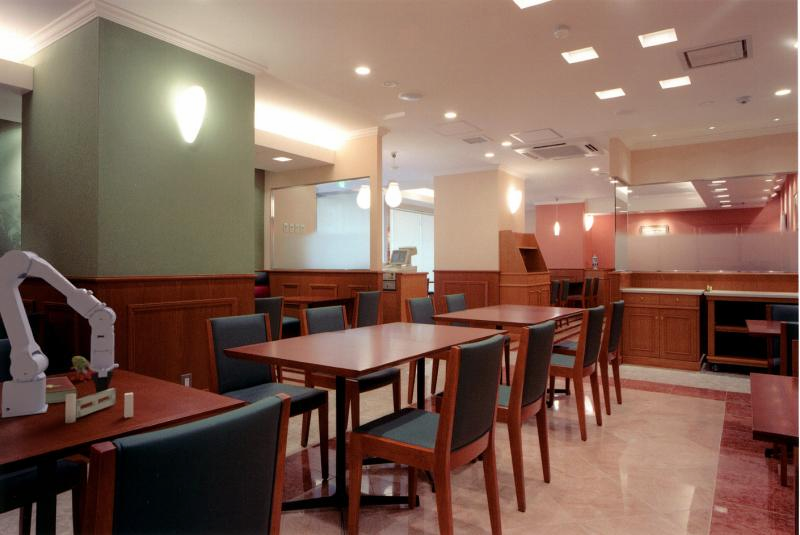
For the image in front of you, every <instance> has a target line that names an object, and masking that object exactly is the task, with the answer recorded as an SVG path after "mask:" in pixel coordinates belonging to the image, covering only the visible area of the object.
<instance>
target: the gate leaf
mask: <svg viewBox="0 0 800 535" xmlns="http://www.w3.org/2000/svg"><path fill="white" fill-rule="evenodd" d="M104 397H106V398H108V399H105V398H104ZM101 399H105V400H103V401H100V402H99V400H101ZM89 403H91V405H89V406H86V407H82V408H81V406H83V405H86V404H89ZM115 404H116V388H115V387H112V388H108V390H104V391H101V392H98V393H96V392H95V393H92V394H90V395H86V396H83V397H81V398H77V400H76V419H78V418H80V417H83V416H86V415H88V414H91V413H93V412H94V413H95V412H96V411H99V410H102V409H105V408H107V407H110V406H113V405H115Z"/></svg>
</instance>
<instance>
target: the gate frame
mask: <svg viewBox="0 0 800 535" xmlns="http://www.w3.org/2000/svg"><path fill="white" fill-rule="evenodd" d="M123 403H124V405H123V406H124V407H123V408H124V412H123V413H124V414H123V416H124V418H125V419H126V418H134V392H126V393H124V401H123ZM76 421H77V418H76V393H71V394H66V401H65V424H71V423H75V422H76Z"/></svg>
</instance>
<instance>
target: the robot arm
mask: <svg viewBox="0 0 800 535" xmlns="http://www.w3.org/2000/svg"><path fill="white" fill-rule="evenodd" d="M29 276H32V277H37V278H41V279H43V280H44V281H45V282H47V283H48V284H50V285H51V286H52V287H53V288H54V289H56V290H57V291H59V292H60V293H62V294H63V295H64V296H65V297H66V301H67V302H66V303H67V305H69V306H70V307H71V308H72V309H73V310H74V311H76V312H77V313H78V314H80V315H81V316H82V317H84V318H85V319H88V323H89V326H90V327H91V334H90V364H91V366H90V370H93V372H95V373H91V378H92V379H91V380H92V381H93V384H94V387H95V393H98V392H101V391H104V390H108V389H110V384H111V380H112V379H113V377H114V376H115V375H114V374H115V373H114V370H113V369H115V368H119V364H118V363H115V332H114V331H115V327H114V326H115V325H114V323H115V322H116V319H117V315H116V312H115V311H114V310H113V308H111V307H109V306H107V303H105V302H101V301H100V300H98V299H97V298H96V297H95V296H94V295H93V294H94V292H93V291H92V290H90V289H89V290H87V289H86V288H77V287H76V286H75V285H73V284H72V283H71V281H69V280H68V279H67V278H66V277H65V276H64V275H63V274H61V273H60V272H59V271H58V270H57V269H56V268H54V267H53V266H52V265H51V264H50V263H49V262H48V261H46V259H44V258H42V257H40V256H39V255H38V254H36V252H34V251H29V250H20V249H19V250H18V249H12V250H9V251H7V252H5V253H4V254H3V255H2V256H1V257H0V315H1V319H2V322H3V326H4V328H5V331H6V334H7V337H8V340H9V344H10V346H11V347H10V348H11V350H10V354H9V359H10V367H9V372H10V375H11V377H12V380H8V381H7V380H6V381H4V382H3V384H2V392H1V396H2V397H1V418H11V417H18V416H19V417H20V416H27V415H28V416H29V415H36V414H43V413H46V412H47V410H48V407H49V404H45V397H46V379H47V376H46V374H45V371H46V369H48V366H49V358H48V357H47V356H46V355H45V354H44V353H43V351H42V350H41V347H40V345H39V344H38V343H37V342H36V341H35V339H34V338H35V337H34V336H33V332H32V328H31V325H30V323H29V319H28V315H27V313H26V309H25V307H24V303H23V300H22V297H21V294H20V293H21V292H20V291H19V286H20V285H21V284H22V283H23V281H24V280H25V279H26V278H27V277H29ZM106 398H107V397H104V398H103V399H106Z"/></svg>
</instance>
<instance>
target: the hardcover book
mask: <svg viewBox="0 0 800 535" xmlns="http://www.w3.org/2000/svg"><path fill="white" fill-rule="evenodd" d="M71 393H76V400H77V399H78V390H77V388H76V387H75V385H74V384H73V383H72V382H71V381H70V379H69V378H68V377H67V376H61V377H60V376H59V377H51V378H46V397H45V404H48V403H49V404H55V403H63V402H66V394H71ZM49 404H48V405H49Z"/></svg>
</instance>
